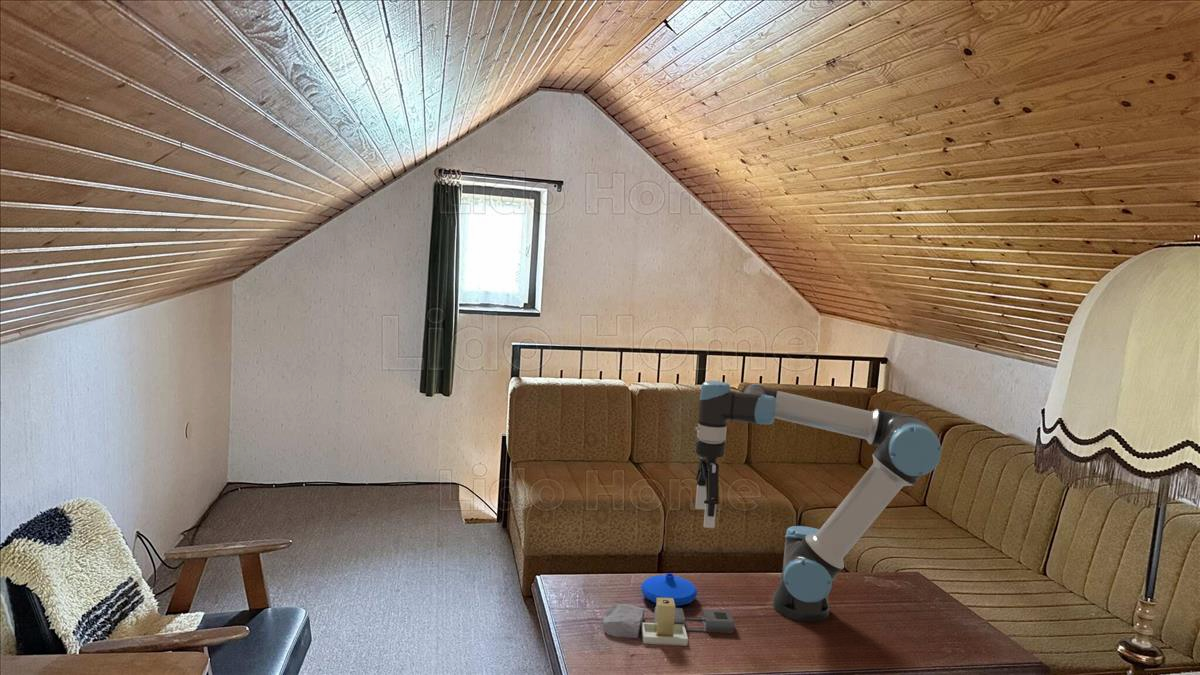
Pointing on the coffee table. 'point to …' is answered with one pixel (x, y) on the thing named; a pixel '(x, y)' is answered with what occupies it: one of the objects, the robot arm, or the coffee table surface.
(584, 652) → the coffee table surface
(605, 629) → the stone block
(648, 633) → the parts tray
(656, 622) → the wooden drawer with knob
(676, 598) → the blue funnel disc
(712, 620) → the rack rail
